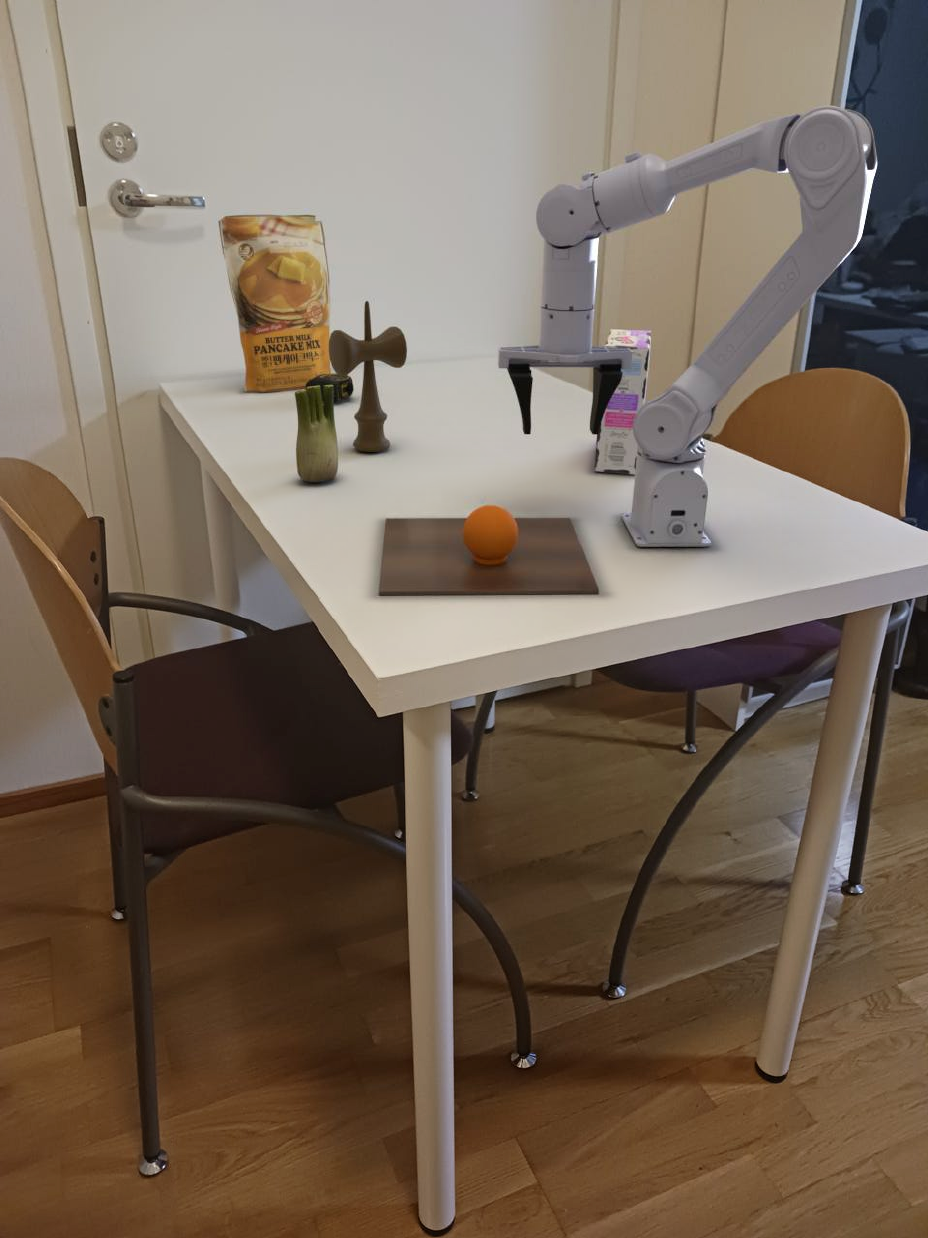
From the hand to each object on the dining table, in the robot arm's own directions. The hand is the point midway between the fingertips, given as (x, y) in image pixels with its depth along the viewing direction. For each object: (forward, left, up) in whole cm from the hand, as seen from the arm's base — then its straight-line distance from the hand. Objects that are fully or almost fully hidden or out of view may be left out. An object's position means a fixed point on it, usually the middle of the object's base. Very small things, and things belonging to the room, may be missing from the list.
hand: (560, 432), depth 109 cm
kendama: (+25, +23, -10) cm, 36 cm away
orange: (-16, +9, -9) cm, 20 cm away
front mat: (-14, +9, -9) cm, 19 cm away
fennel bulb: (+11, +29, -10) cm, 32 cm away
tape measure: (+54, +31, -10) cm, 63 cm away
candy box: (+20, -11, -10) cm, 25 cm away
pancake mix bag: (+65, +40, -10) cm, 77 cm away
